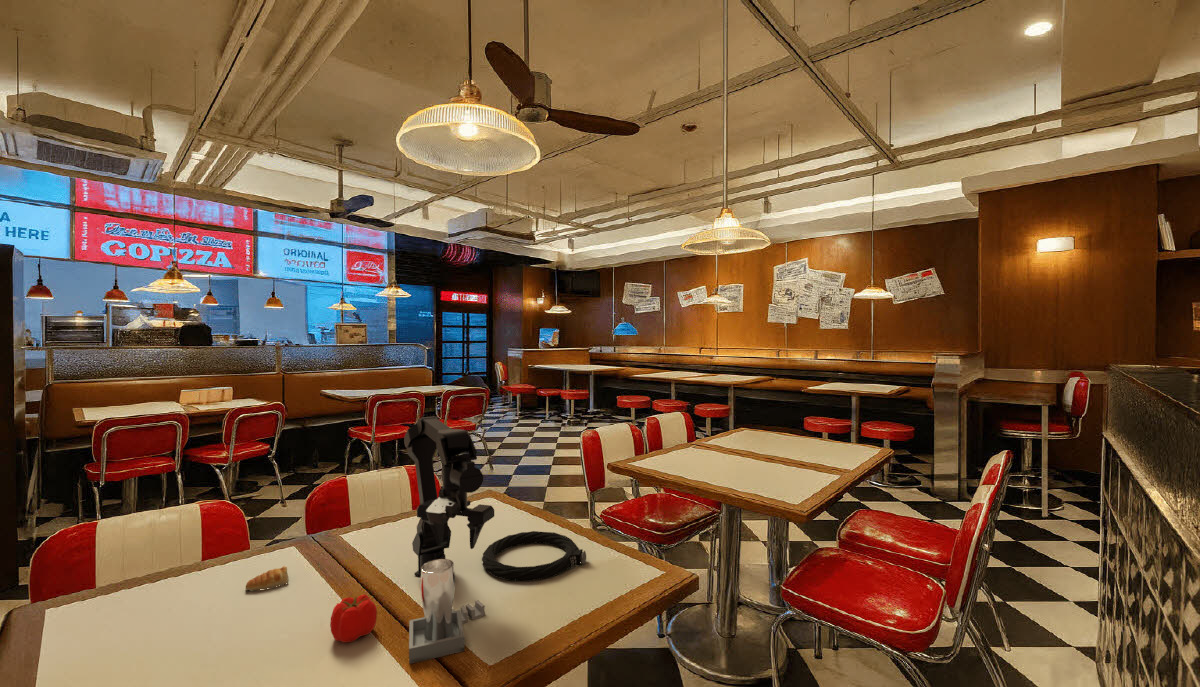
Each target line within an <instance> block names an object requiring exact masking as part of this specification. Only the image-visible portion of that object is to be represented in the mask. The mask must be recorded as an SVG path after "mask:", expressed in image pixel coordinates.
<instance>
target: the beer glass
mask: <svg viewBox="0 0 1200 687" xmlns="http://www.w3.org/2000/svg"><path fill="white" fill-rule="evenodd" d="M455 575H456V574H455V564H454V561H453V560H452V559H448V558H446V559H436V560H432V561H429V562H427V563H425V564H424V565H423V566H422V567H421V576H420V582H419V585H420V586H419V588H420V599H421V605H422V610H423V615H424V617H425V631H424V641H425V642H426V643H428V642H432V641H437V640H441V639H446V638H450V637H452V636H453V634H454V630H453V625H452V618H451V615H452V609H453V607H454V599H455V591H456V590H455V589H456V576H455Z"/></svg>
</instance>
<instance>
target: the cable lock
mask: <svg viewBox="0 0 1200 687" xmlns="http://www.w3.org/2000/svg"><path fill="white" fill-rule="evenodd" d="M529 544H548V545H552V546H556V547H559V548H561V549H562V550H563V551H565V554H563V556H562V557H560V558H557V559H556V560H554V561H552V562H548V563H545V564H539V565H533V566H531V565H530V566H515V565H509V564H505V563H502V562H500V561H498V560H497V559H496V557H497V555H499V554H500V553H502V552H504V551H505V550H507V549H510V548H514V547H516V546H521V545H529ZM481 561H482V566H483V568H484V569H485V571H486V572H488V573H489V574H491V575H492V576H493V577H495V578H500V579H503V580H507V581H511V582H512V581H514V582H515V581H517V582H530V581H531V582H532V581H538V580H545V579H548V578H552V577H555V576H558V575H560V574H562V573H564V572H566V571H567V570H569V569H570V570H571V569H574V568H575V567H576V565H577V567H580V566H581V565H582V566H584V565H586V561H587V553H586V551H585V550H584V551H583V548H581V549H580V548H579V546H578V545H577V543H575V542H574V540H572V539H571V538H570V537H568V536H566V535H562V534H560V533H557V532H551V531H550V532H549V531H538V530H537V531H535V530H532V531H528V532H527V531H526V532H525V531H524V532H522V531H521V532H517V533H515V534H509V535H507V536H504V537H502V538H500V539H497V540H495V541H494V542H492V543H491V544H490V545H488V546H487V548H486V549H485V550H484V552H483V553H482V556H481ZM580 562H581V564H580Z"/></svg>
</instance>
